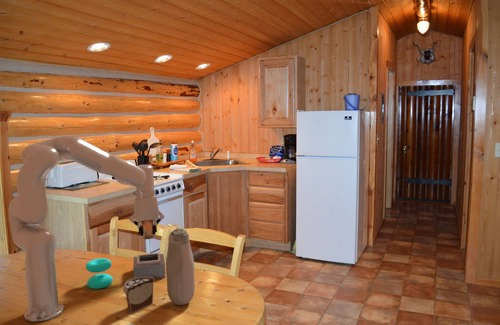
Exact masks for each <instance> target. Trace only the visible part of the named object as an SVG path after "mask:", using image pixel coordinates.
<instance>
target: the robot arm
mask: <svg viewBox="0 0 500 325" xmlns="http://www.w3.org/2000/svg"><path fill="white" fill-rule="evenodd" d="M20 154H21V155H20V159H21V161H22V163H23V165H22V166H21V167H20V169H19V171H18V174H17V177H16V189H17V195H16V196H14V197H13V198H12V199H11V201H9V205H8V218H9V225H10V232H11V237H12V241H13V243H14V244H15V246H16V247H18V248H19V249H21V250H23V251H24V252H25V259H24V260H25V261H24V272H25V282H26V283H25V284H26V293H27V294H26V296H27V304H28V309H27V310H26V311H25V312H24V314H23V316H24V319H25V321H29V322H31V323H32V322H35V323H36V322H43V321H48V320H51V319H54V318H56V317H58V316H59V315H60V314H62V313H63V311H64V309H65V308H64V304H63V303H61V302H59V294H58V281H57V270H56V268H57V267H56V258H55V257H56V248H57V247H56V246H57V242H56V237H55V234H54V232H52V231H51V230H50V229H49V228H47V227H44V226H41V225H40V224H42V223H43V222H44V221H46V220H47V218H48V216H49V208H48V207H49V206H48V200H47V191H46V179H47V176H48V175H49V173H50V172H51V171H52V170H53V169H54V168H55V167H56V166H57V165H58V163H59V161H60V160H63V159H68V160H71V161H73V162H75V163H77V164H80V165H82V166H83V167H86V168H87V169H89V170H92V171H94V172H96V173H99V174H102V175H106V176H109V177H110V176H111V177H114V179H115V181H116V182H118V183H119V184H120V185H124V186H125V185H126V186H129V187H130V186H131V187H135V191H132V195H133V196H135V197H134V201H133V203H134V204H133V210H134V212H133V213H132V215H131V216H130V218H129V220H128V221H129V222H131V223H132V224H134V225H135V226H136V227H137V229H138V235H140V237H142V225H141V222H142V221H148V220H153V229H154V236H157V235H156V233H158V227H157V226H158V224H159V223H160V222H161V221H163V219H164V218H165V215H164V214H163V213H162V212H161V211H160V210H159V201H158V197H157V195H156V194H155V178H154V167H153V166H152V165H151V164H139V165H135V164H134V163H131V161H130V162H129V161H127V160H126V159H123V158H120V157H119V156H116V155H113V154H112V153H109V152H107V151H105V150H103V149H101V148H99V147H97V146H95V145H94V144H92V143H90V142H89V141H86V140H85V139H83V138H80V137H78V136H70V135H63V136H58V137H54V138H51V139H47V140H44V141H39V142H36V143H35V142H34V143H31V144H29V145H27V146H26V147H25V148H23V149H22V152H21V153H20Z"/></svg>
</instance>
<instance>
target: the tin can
mask: <svg viewBox="0 0 500 325" xmlns="http://www.w3.org/2000/svg"><path fill="white" fill-rule="evenodd" d="M153 225H154V222H153V220H148V221H142V222H141V226H142V236H141V237H142V238H141V239H142V240H151V239H154V238H155V235H154V229H153Z"/></svg>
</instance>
